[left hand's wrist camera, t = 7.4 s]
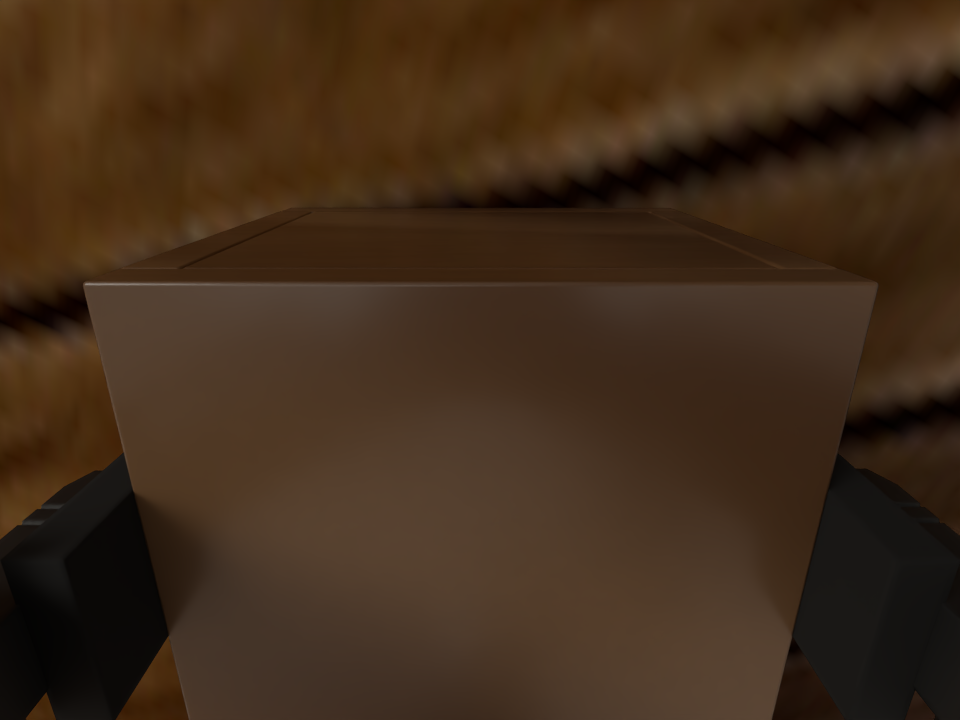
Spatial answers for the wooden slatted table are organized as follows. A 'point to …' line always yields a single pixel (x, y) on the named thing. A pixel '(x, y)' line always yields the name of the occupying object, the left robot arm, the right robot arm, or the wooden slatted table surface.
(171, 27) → the wooden slatted table surface
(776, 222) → the wooden slatted table surface
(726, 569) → the cabinet
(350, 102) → the wooden slatted table surface
